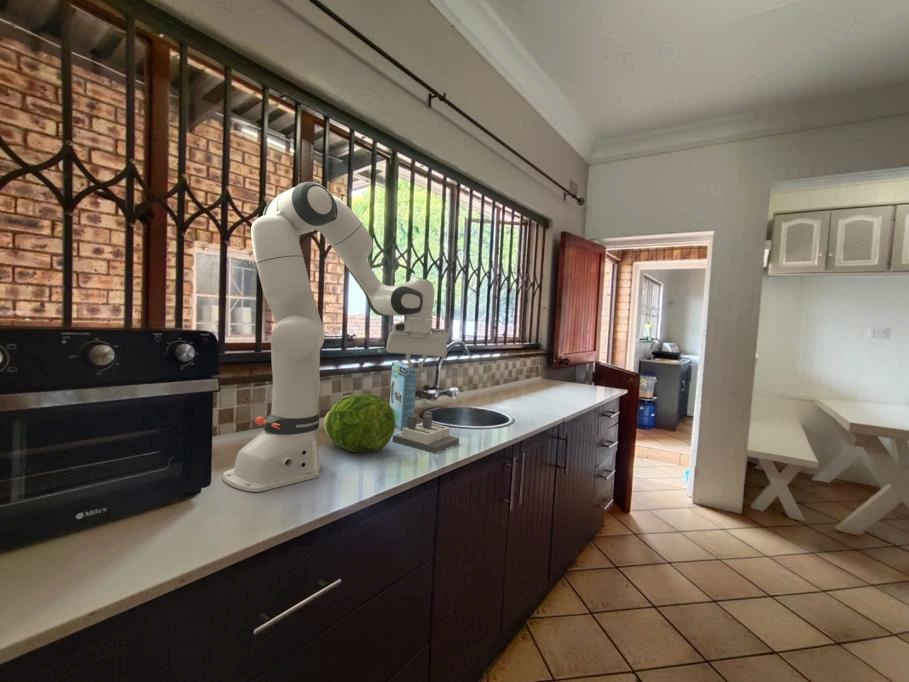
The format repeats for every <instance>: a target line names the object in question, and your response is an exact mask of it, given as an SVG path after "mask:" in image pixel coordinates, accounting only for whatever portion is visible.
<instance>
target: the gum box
mask: <svg viewBox="0 0 909 682" xmlns="http://www.w3.org/2000/svg"><path fill="white" fill-rule="evenodd" d="M408 365H409V363H408V364H407V363H405V362H403V361H391V375H390V377H391V378H390V379H391V380H390V393H389V395H390V396H389V405H390V406H391V408H392V410H393V412H394V415H395V426H396V427H397V428H399V430H401V431H403V428H406V427H407V418H408V416H411V415H413V416H415V404H416V390H417V389H416V388H417V374H418V368H417V367H414V366H413V368H408Z"/></svg>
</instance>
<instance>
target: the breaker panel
mask: <svg viewBox="0 0 909 682" xmlns="http://www.w3.org/2000/svg"><path fill="white" fill-rule="evenodd" d="M422 426H423V422H420V423H417V424H416V428H412V429H411V428H407V427H406V428H403V430H402V432H400V433H396V434H393V435H392V437H391V439H392V440H391V442H393V443H396V444H400V445H404V446H406V447H410V448H413V449H416V450H421V451H423V452H428V453H431V452H432V453H431V454H434V453H436V454H437V452H438V453H440V452H439V451H441V450H443V451H445V450H447V449H446V448H448V449H450V448H452V447H451V446H453V447H455V446H457V445H459V441H460V438H459V437H456V436H453V435H450V434H451V433H450V430H451V428H450V427H449V426H444V425H441V424H437V423H433V422H432V427H429V428H425V427H422ZM456 444H457V445H456ZM454 445H455V446H454ZM449 447H450V448H449ZM444 449H445V450H444ZM441 452H442V451H441Z"/></svg>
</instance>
